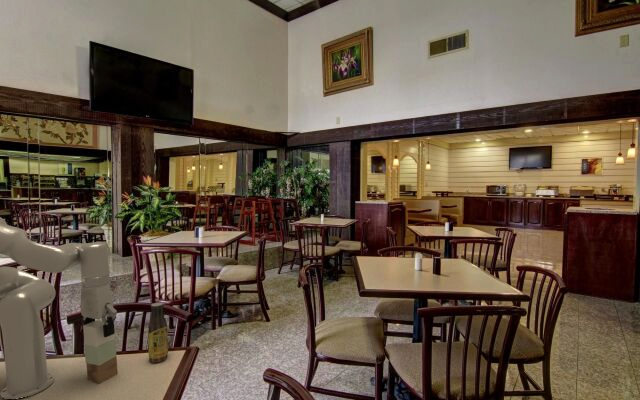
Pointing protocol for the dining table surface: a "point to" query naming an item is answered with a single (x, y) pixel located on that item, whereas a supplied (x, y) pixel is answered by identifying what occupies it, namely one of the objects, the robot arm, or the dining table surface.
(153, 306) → the sauce bottle
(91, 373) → the walnut cube
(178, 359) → the dining table surface
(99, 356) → the sage cube
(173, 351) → the dining table surface
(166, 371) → the dining table surface
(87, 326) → the stone cube
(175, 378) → the dining table surface
